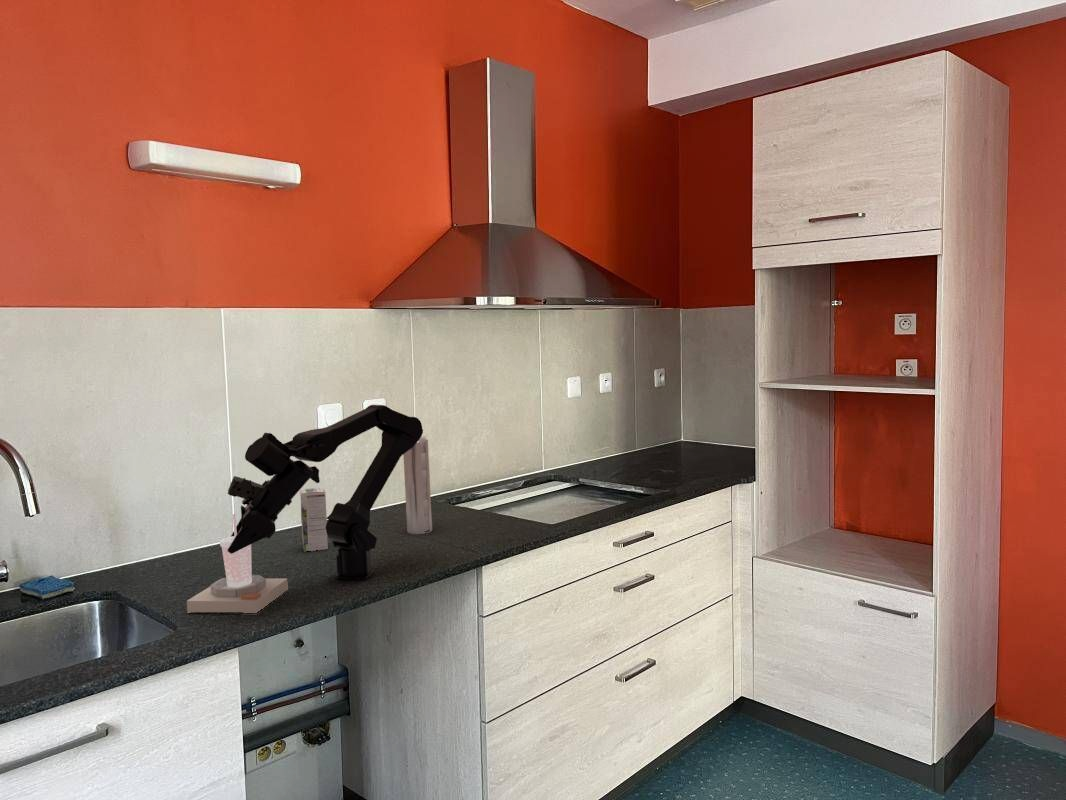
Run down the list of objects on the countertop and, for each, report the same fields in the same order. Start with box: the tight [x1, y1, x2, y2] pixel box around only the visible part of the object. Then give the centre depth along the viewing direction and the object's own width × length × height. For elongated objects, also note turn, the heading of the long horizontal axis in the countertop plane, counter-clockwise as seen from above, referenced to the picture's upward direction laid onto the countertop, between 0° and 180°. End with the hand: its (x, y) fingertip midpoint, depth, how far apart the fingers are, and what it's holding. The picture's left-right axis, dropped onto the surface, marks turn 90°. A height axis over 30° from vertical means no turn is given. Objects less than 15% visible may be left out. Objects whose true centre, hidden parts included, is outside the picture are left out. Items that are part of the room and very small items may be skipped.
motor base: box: [186, 574, 289, 614], centre depth 162 cm, size 14×14×4 cm
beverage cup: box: [219, 513, 253, 587], centre depth 161 cm, size 6×6×14 cm
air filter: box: [402, 435, 433, 535], centre depth 213 cm, size 6×6×25 cm
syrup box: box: [299, 487, 329, 553], centre depth 200 cm, size 6×6×14 cm
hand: (229, 548), depth 161 cm, fingers closed on beverage cup, 6 cm apart
